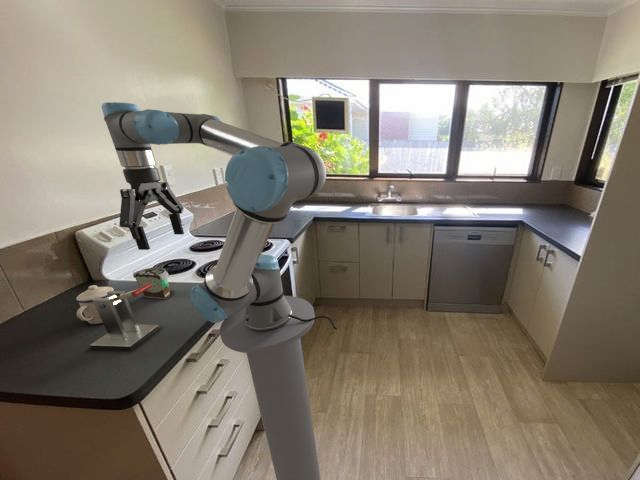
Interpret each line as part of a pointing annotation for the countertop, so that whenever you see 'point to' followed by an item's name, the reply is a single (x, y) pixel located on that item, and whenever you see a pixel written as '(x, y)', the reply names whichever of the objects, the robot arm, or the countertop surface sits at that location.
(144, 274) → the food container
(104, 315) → the bracket
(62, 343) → the countertop surface
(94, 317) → the teacup with lid
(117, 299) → the lever
